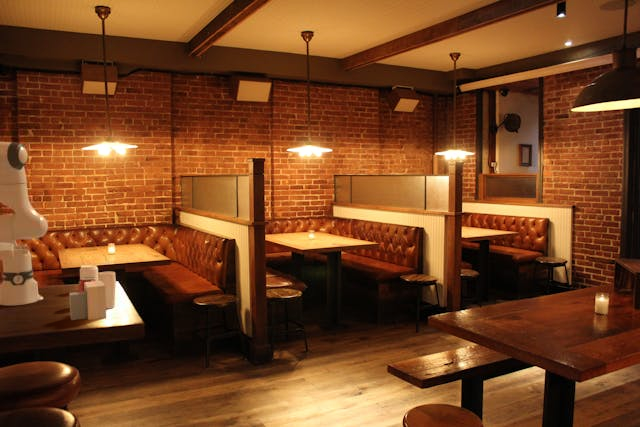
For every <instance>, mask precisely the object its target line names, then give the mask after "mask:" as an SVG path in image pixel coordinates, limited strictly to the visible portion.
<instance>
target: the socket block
mask: <svg viewBox="0 0 640 427" xmlns="http://www.w3.org/2000/svg"><path fill="white" fill-rule="evenodd" d="M84 290H85V291H87V308H88V318H87V319H88V321H92V320H100V319H101V320H102V319H107V309H106V298H105V285H104V284H103V282H102V281H99V280H98V281H92V282H84Z"/></svg>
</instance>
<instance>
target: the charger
mask: <svg viewBox="0 0 640 427" xmlns="http://www.w3.org/2000/svg"><path fill="white" fill-rule="evenodd" d="M69 314H70V316H69V317H70V320H71V321H76V320H77V319H78V320H85V318H86V319H88V308H87V291H83V292H79V291H75V292H69Z"/></svg>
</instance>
